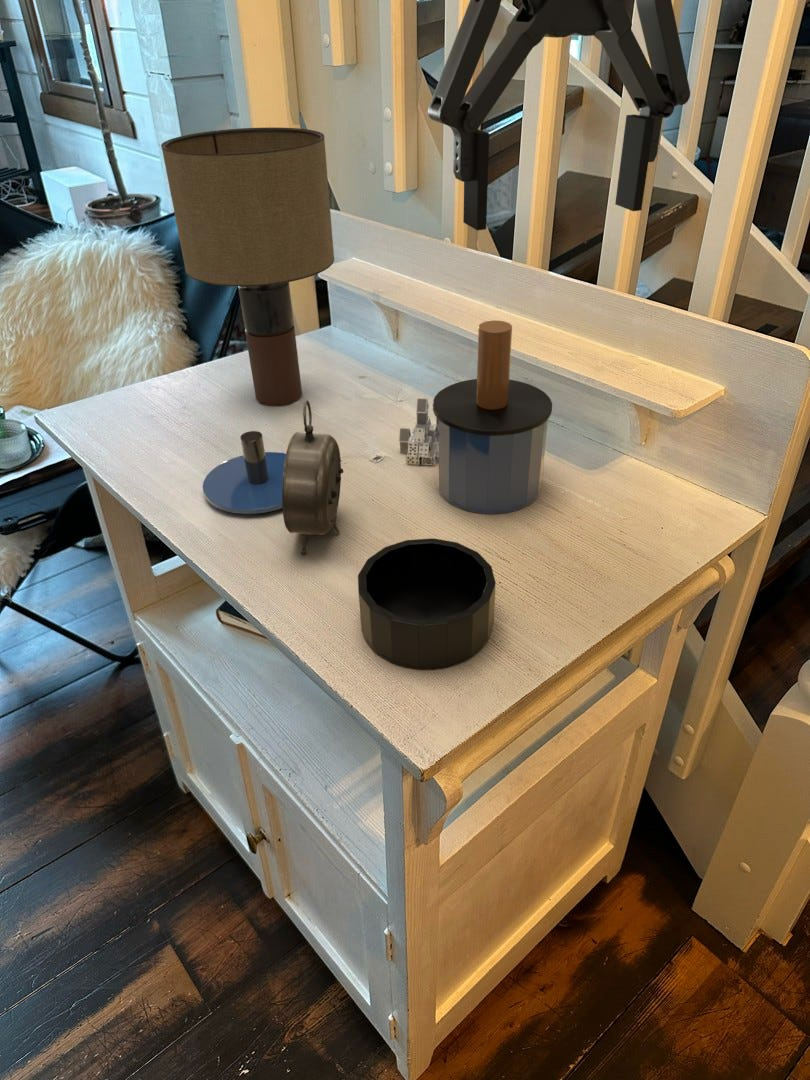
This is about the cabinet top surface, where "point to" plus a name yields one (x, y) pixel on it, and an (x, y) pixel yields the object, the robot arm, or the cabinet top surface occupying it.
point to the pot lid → (247, 479)
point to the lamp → (255, 232)
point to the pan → (426, 603)
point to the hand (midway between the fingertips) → (553, 217)
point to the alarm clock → (311, 482)
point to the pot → (490, 469)
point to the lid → (492, 392)
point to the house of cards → (418, 439)
